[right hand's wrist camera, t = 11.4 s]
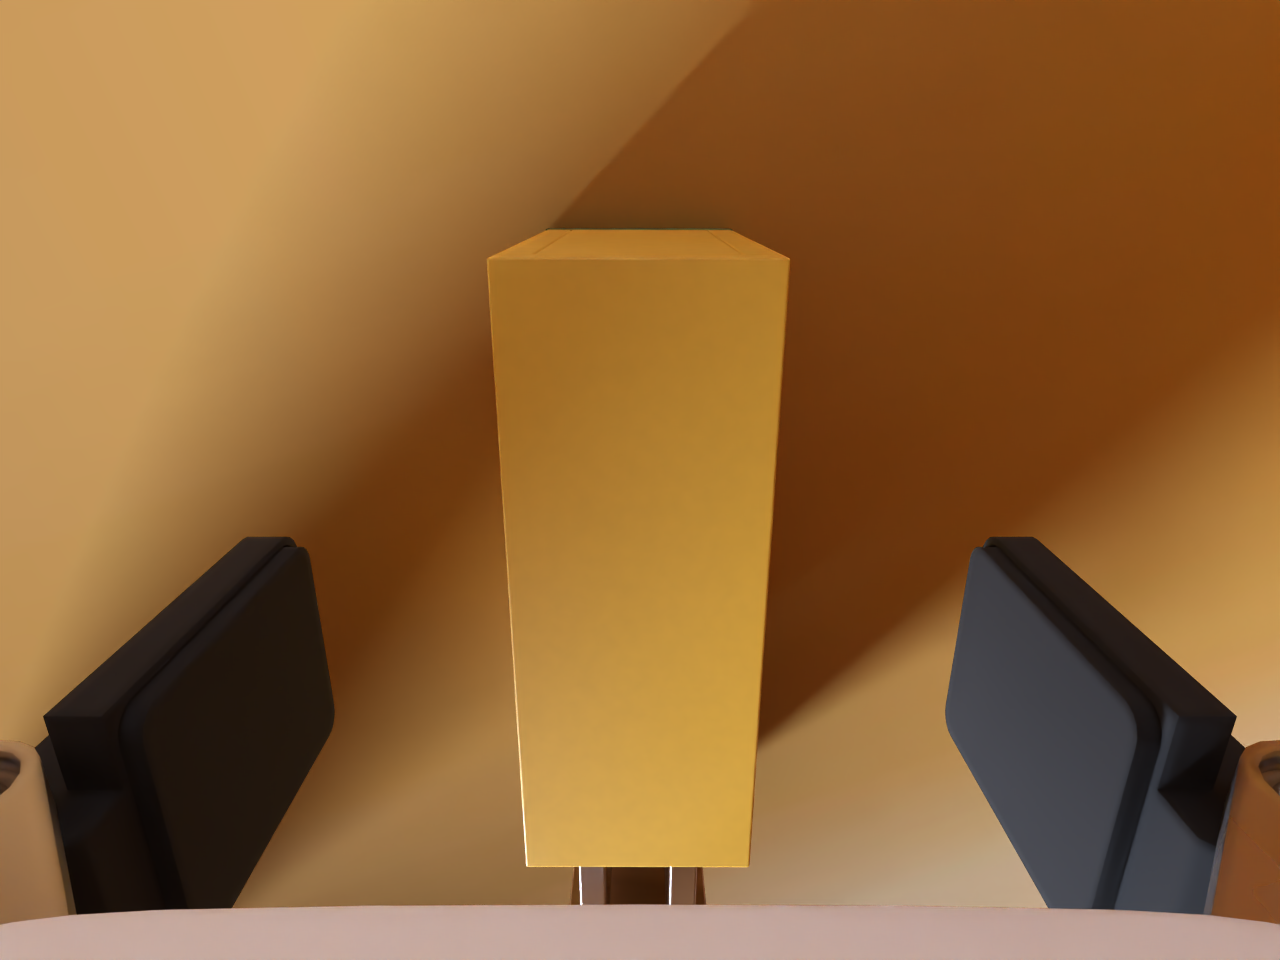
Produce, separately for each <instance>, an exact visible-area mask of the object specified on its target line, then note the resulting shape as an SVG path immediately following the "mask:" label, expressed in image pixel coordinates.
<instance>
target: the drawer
mask: <svg viewBox="0 0 1280 960" xmlns="http://www.w3.org/2000/svg"><path fill="white" fill-rule="evenodd" d="M570 905H706V899H705V888H704V877H703V867H574V868H573V878H572V888H571V898H570Z"/></svg>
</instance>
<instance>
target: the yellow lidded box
mask: <svg viewBox="0 0 1280 960" xmlns="http://www.w3.org/2000/svg"><path fill="white" fill-rule="evenodd" d="M487 272H488V287H489V303H490V318H491V333H492V348H493V364H494V379H495V394H496V410H497V425H498V440H499V455H500V471H501V486H502V501H503V517H504V532H505V547H506V563H507V578H508V593H509V608H510V624H511V639H512V654H513V670H514V685H515V700H516V715H517V731H518V746H519V761H520V777H521V792H522V807H523V823H524V838H525V853H526V865H527V866H528V867H749V862H750V848H751V833H752V818H753V803H754V789H755V774H756V759H757V744H758V729H759V715H760V700H761V685H762V670H763V656H764V641H765V626H766V611H767V597H768V582H769V567H770V552H771V538H772V523H773V508H774V493H775V478H776V464H777V449H778V434H779V419H780V405H781V390H782V375H783V360H784V346H785V331H786V316H787V301H788V287H789V272H790V259H789V258H787V257H785V256H783V255H781V254H779V253H777V252H775V251H773V250H771V249H769V248H767V247H765V246H763V245H760V244H758V243H756V242H754V241H752V240H750V239H748V238H746V237H744V236H742V235H740V234H738V233H736V232H734V231H732V229H707V228H548V229H546V231H544V232H542V233H540V234H538V235H536V236H533V237H531V238H529V239H527V240H525V241H523V242H521V243H519V244H517V245H514V246H512V247H510V248H508V249H506V250H504V251H502V252H500V253H498V254H495V255H493V256H491V257H488V258H487Z"/></svg>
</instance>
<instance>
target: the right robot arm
mask: <svg viewBox="0 0 1280 960" xmlns="http://www.w3.org/2000/svg"><path fill="white" fill-rule="evenodd" d="M334 715H335V709H334V701H333V695H332V689H331V683H330V677H329V671H328V665H327V659H326V653H325V647H324V641H323V635H322V629H321V623H320V617H319V611H318V605H317V599H316V593H315V587H314V580H313V574H312V568H311V562H310V557H309V554H308V552H307V550H306V549H305V548H304V547H297V546H296V544H295V542H294V540H292V539H291V538H290V537H246V538H245V539H243V540H242V541H240V542H239V543H238V544H237V545H236V546H235V547H234V548H233V549H231V550H230V551H229V552H228V553H227V554H226V555H225V556H224V557H222V558H221V559H220V560H219V561H218V562H217V563H216V564H215V565H213V566H212V567H211V568H210V569H209V570H208V571H207V572H205V573H204V574H203V575H202V576H201V577H200V578H199V579H198V580H196V581H195V582H194V583H193V584H192V585H191V586H190V587H189V588H187V589H186V590H185V591H184V592H183V593H182V594H181V595H180V596H178V597H177V598H176V599H175V600H174V601H173V602H172V603H171V604H169V605H168V606H167V607H166V608H165V609H164V610H163V611H161V612H160V613H159V614H158V615H157V616H156V617H155V618H154V619H152V620H151V621H150V622H149V623H148V624H147V625H146V626H145V627H143V628H142V629H141V630H140V631H139V632H138V633H137V634H136V635H134V636H133V637H132V638H131V639H130V640H129V641H128V642H127V643H125V644H124V645H123V646H122V647H121V648H120V649H119V650H118V651H116V652H115V653H114V654H113V655H112V656H111V657H110V658H108V659H107V660H106V661H105V662H104V663H103V664H102V665H101V666H99V667H98V668H97V669H96V670H95V671H94V672H93V673H92V674H90V675H89V676H88V677H87V678H86V679H85V680H84V681H83V682H81V683H80V684H79V685H78V686H77V687H76V688H75V689H74V690H72V691H71V692H70V693H69V694H68V695H67V696H66V697H64V698H63V699H62V700H61V701H60V702H59V703H58V704H57V705H55V706H54V707H53V708H52V709H51V710H50V711H49V712H48V713H46V714H45V715H44V716H43V717H44V721H45V724H46V727H47V730H48V733H49V735H48V736H47V737H46V738H45V739H44V740H43V741H42V742H41V743H40V744H39V745H38V746H36V747H35V748H34V747H32V746H30V745H27V744H25V743H22V742H20V741H4V740H0V960H1280V740H1276V741H1260V742H1258V743H1255V744H1253V745H1250V746H1248V747H1246V748H1245V747H1244V746H1242V745H1241V744H1240V743H1239V742H1238V741H1237V740H1236V739H1235V738H1234V737H1233V736H1232V735H1231V733H1232V730H1233V727H1234V724H1235V721H1236V717H1237V716H1236V715H1235V714H1234V713H1232V712H1231V711H1230V710H1229V709H1228V708H1227V707H1226V706H1225V705H1223V704H1222V703H1221V702H1220V701H1219V700H1218V699H1217V698H1216V697H1214V696H1213V695H1212V694H1211V693H1210V692H1209V691H1208V690H1206V689H1205V688H1204V687H1203V686H1202V685H1201V684H1200V683H1199V682H1197V681H1196V680H1195V679H1194V678H1193V677H1192V676H1191V675H1190V674H1188V673H1187V672H1186V671H1185V670H1184V669H1183V668H1182V667H1181V666H1179V665H1178V664H1177V663H1176V662H1175V661H1174V660H1173V659H1172V658H1170V657H1169V656H1168V655H1167V654H1166V653H1165V652H1164V651H1162V650H1161V649H1160V648H1159V647H1158V646H1157V645H1156V644H1155V643H1153V642H1152V641H1151V640H1150V639H1149V638H1148V637H1147V636H1146V635H1144V634H1143V633H1142V632H1141V631H1140V630H1139V629H1138V628H1137V627H1135V626H1134V625H1133V624H1132V623H1131V622H1130V621H1129V620H1128V619H1126V618H1125V617H1124V616H1123V615H1122V614H1121V613H1120V612H1119V611H1117V610H1116V609H1115V608H1114V607H1113V606H1112V605H1111V604H1109V603H1108V602H1107V601H1106V600H1105V599H1104V598H1103V597H1102V596H1100V595H1099V594H1098V593H1097V592H1096V591H1095V590H1094V589H1093V588H1091V587H1090V586H1089V585H1088V584H1087V583H1086V582H1085V581H1084V580H1082V579H1081V578H1080V577H1079V576H1078V575H1077V574H1076V573H1075V572H1073V571H1072V570H1071V569H1070V568H1069V567H1068V566H1067V565H1065V564H1064V563H1063V562H1062V561H1061V560H1060V559H1059V558H1058V557H1056V556H1055V555H1054V554H1053V553H1052V552H1051V551H1050V550H1049V549H1047V548H1046V547H1045V546H1044V545H1043V544H1042V543H1041V542H1040V541H1038V540H1037V539H1035V538H1034V537H990V538H989V539H988V540H986V542H985V544H984V546H983V547H976V548H975V549H974V550H973V552H972V554H971V557H970V562H969V568H968V574H967V580H966V587H965V593H964V599H963V605H962V611H961V617H960V623H959V629H958V635H957V641H956V647H955V653H954V659H953V665H952V671H951V677H950V683H949V689H948V695H947V701H946V709H945V715H946V723H947V727H948V731H949V733H950V735H951V737H952V739H953V741H954V742H955V744H956V746H957V748H958V749H959V751H960V753H961V755H962V757H963V758H964V760H965V762H966V764H967V765H968V767H969V769H970V771H971V772H972V774H973V776H974V778H975V779H976V781H977V783H978V785H979V787H980V788H981V790H982V792H983V794H984V795H985V797H986V799H987V801H988V802H989V804H990V806H991V808H992V809H993V811H994V813H995V815H996V817H997V818H998V820H999V822H1000V824H1001V825H1002V827H1003V829H1004V831H1005V832H1006V834H1007V836H1008V838H1009V839H1010V841H1011V843H1012V845H1013V847H1014V848H1015V850H1016V852H1017V854H1018V855H1019V857H1020V859H1021V861H1022V862H1023V864H1024V866H1025V868H1026V869H1027V871H1028V873H1029V875H1030V877H1031V878H1032V880H1033V882H1034V884H1035V885H1036V887H1037V889H1038V891H1039V892H1040V894H1041V896H1042V898H1043V899H1044V901H1045V903H1046V905H1047V907H1048V908H998V907H946V906H840V905H440V906H334V907H282V908H232V907H233V905H234V903H235V901H236V899H237V898H238V896H239V894H240V892H241V891H242V889H243V887H244V885H245V884H246V882H247V880H248V878H249V877H250V875H251V873H252V871H253V869H254V868H255V866H256V864H257V862H258V861H259V859H260V857H261V855H262V854H263V852H264V850H265V848H266V847H267V845H268V843H269V841H270V839H271V838H272V836H273V834H274V832H275V831H276V829H277V827H278V825H279V824H280V822H281V820H282V818H283V817H284V815H285V813H286V811H287V809H288V808H289V806H290V804H291V802H292V801H293V799H294V797H295V795H296V794H297V792H298V790H299V788H300V787H301V785H302V783H303V781H304V779H305V778H306V776H307V774H308V772H309V771H310V769H311V767H312V765H313V764H314V762H315V760H316V758H317V757H318V755H319V753H320V751H321V749H322V748H323V746H324V744H325V742H326V741H327V739H328V737H329V735H330V733H331V731H332V727H333V723H334Z"/></svg>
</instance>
